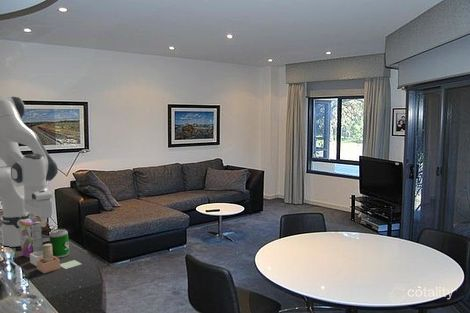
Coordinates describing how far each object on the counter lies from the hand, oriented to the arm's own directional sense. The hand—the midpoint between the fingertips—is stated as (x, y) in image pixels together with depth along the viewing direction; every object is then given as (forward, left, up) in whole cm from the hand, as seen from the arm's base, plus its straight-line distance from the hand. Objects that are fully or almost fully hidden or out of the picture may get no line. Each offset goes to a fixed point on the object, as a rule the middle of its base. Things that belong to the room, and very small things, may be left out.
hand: (38, 224), depth 172 cm
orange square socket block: (+10, -1, -17) cm, 20 cm away
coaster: (+12, +7, -17) cm, 22 cm away
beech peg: (+10, -1, -16) cm, 19 cm away
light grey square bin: (0, 0, -17) cm, 17 cm away
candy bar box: (-12, +1, -17) cm, 21 cm away
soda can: (-2, +9, -17) cm, 20 cm away
